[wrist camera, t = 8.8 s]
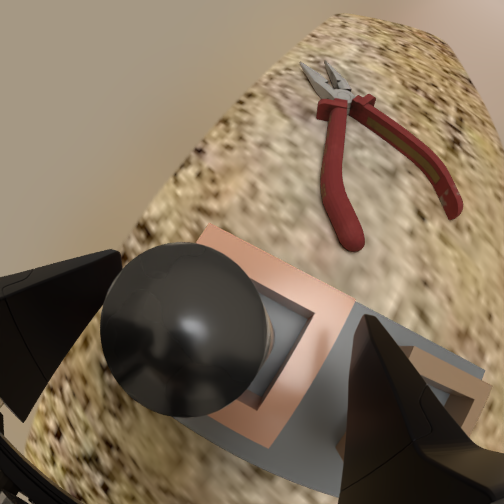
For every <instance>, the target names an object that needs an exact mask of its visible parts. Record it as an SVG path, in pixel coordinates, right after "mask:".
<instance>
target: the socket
mask: <svg viewBox="0 0 504 504" xmlns="http://www.w3.org/2000/svg"><path fill="white" fill-rule="evenodd" d="M196 244H201V245H204V246H208V247H211V248H213V249H215V250H217V251H219V252H221V253H223V254H224V255H226V256H228V257H229V258H231V259H232V260H233V261H234V262H235V263H237V264H238V265H239V266H240V267H241V268H242V269H243V271H244V272H245V273H246V274H247V275H248V277H249V278H250V279H251V281H252V282H253V284H254V286H255V288H256V290H257V291H258V292H259V293H261V294H262V295H264V296H266V297H268V298H270V299H271V300H273V301H275V302H277V303H279V304H281V305H283V306H284V307H286V308H288V309H290V310H292V311H294V312H296V313H297V314H299V315H301V316H303V317H305V318H307V321H306V323H305V325H304V327H303V328H302V330H301V332H300V334H299V336H298V337H297V339H296V341H295V343H294V344H293V346H292V348H291V350H290V351H289V353H288V355H287V357H286V358H285V360H284V362H283V363H282V365H281V367H280V368H279V370H278V372H277V373H276V375H275V377H274V378H273V380H272V382H271V383H270V385H269V386H268V388H267V390H266V391H265V393H264V394H263V396H262V397H260V396H259V395H257V394H255V393H253V392H251V391H249V390H248V389H246V390H245V391H244V393H243V394H242V395H241V396H240V397H239V398H237V399H236V400H235V401H234V402H232V403H231V404H230V405H228V406H226V407H225V408H223V409H221V410H219V411H217V412H214V413H211V414H209V415H208V416H209V417H211V418H213V419H214V420H216V421H218V422H219V423H221V424H223V425H225V426H226V427H228V428H230V429H232V430H233V431H235V432H237V433H239V434H241V435H243V436H244V437H246V438H248V439H250V440H252V441H254V442H256V443H258V444H260V445H262V446H264V447H266V448H268V449H269V447H270V446H271V445H272V443H273V442H274V440H275V439H276V438H277V436H278V435H279V433H280V432H281V430H282V429H283V427H284V426H285V425H286V423H287V422H288V420H289V419H290V417H291V416H292V414H293V412H294V411H295V409H296V408H297V406H298V405H299V403H300V402H301V400H302V398H303V397H304V395H305V393H306V392H307V390H308V389H309V387H310V385H311V384H312V382H313V380H314V379H315V377H316V375H317V373H318V372H319V370H320V368H321V366H322V365H323V363H324V361H325V359H326V358H327V356H328V354H329V352H330V350H331V348H332V347H333V345H334V343H335V341H336V339H337V337H338V335H339V333H340V331H341V329H342V327H343V325H344V323H345V321H346V319H347V317H348V315H349V313H350V311H351V309H352V307H353V305H354V303H355V301H356V299H355V298H353V297H351V296H349V295H347V294H345V293H343V292H341V291H339V290H337V289H336V288H334V287H332V286H330V285H328V284H326V283H324V282H322V281H320V280H318V279H317V278H315V277H313V276H311V275H309V274H307V273H305V272H303V271H301V270H299V269H297V268H296V267H294V266H292V265H290V264H288V263H286V262H284V261H282V260H280V259H278V258H276V257H274V256H273V255H271V254H269V253H267V252H265V251H263V250H261V249H259V248H257V247H255V246H253V245H251V244H249V243H248V242H246V241H244V240H242V239H240V238H238V237H236V236H234V235H232V234H230V233H228V232H226V231H224V230H222V229H221V228H219V227H217V226H215V225H213V224H211V223H209V224H208V225H207V227H206V228H205V230H204V231H203V233H202V234H201V236H200V237H199V239H198V241H197V242H196Z"/></svg>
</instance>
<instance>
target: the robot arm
mask: <svg viewBox="0 0 504 504" xmlns="http://www.w3.org/2000/svg"><path fill="white" fill-rule="evenodd" d="M122 269H123V268H122V260H121V254H120V252H119V251H116V250H112V249H109V250H104V251H100V252H96V253H92V254H88V255H84V256H81V257H76V258H73V259H69V260H65V261H61V262H57V263H53V264H50V265H46V266H42V267H38V268H35V269H31V270H27V271H24V272H20V273H16V274H12V275H8V276H4V277H0V408H1V407H2V405H3V404H5V405H6V407H7V408H9V409H10V411H11V412H13V414H14V415H15V416H16V417H17V418H18V419H19V420H21V422H23V423H24V421H25V420H26V419H27V417H28V415H29V413H30V412H31V409H32V408H33V407H34V405H35V403H36V402H37V400H38V398H39V397H40V395H41V393H42V392H43V390H44V388H45V387H46V385H47V384H48V382H49V380H50V379H51V377H52V376H53V374H54V373H55V371H56V370H57V368H58V366H59V365H60V364H61V362H62V361H63V359H64V358H65V356H66V355H67V353H68V352H69V350H70V349H71V347H72V346H73V345H74V343H75V342H76V340H77V339H78V338H79V336H80V335H81V333H82V332H83V331H84V329H85V328H86V326H87V325H88V324H89V322H90V321H91V320H92V318H93V317H94V316H95V314H96V313H97V312H98V310H99V309H100V308H101V306H102V305H103V304H104V301H105V298H106V295H107V293H108V291H109V289H110V287H111V285H112V283H113V281H114V280H115V278H116V277H117V275H118V274H119V273H120V272H121V270H122ZM426 384H427V383H426V382H425V380H424V379H423V378H422V376H421V375H420V373H419V372H418V371H417V369H416V368H415V367H414V365H413V364H412V363H411V361H410V360H409V359H408V357H407V356H406V355H405V353H404V352H403V351H402V349H401V348H400V347H399V345H398V344H397V343H396V342H395V340H394V339H393V338H392V336H391V335H390V334H389V333H388V331H387V330H386V329H385V327H384V326H383V325H382V324H381V322H380V321H379V320H378V319H377V317H376V316H374V315H369V314H364V315H363V316H362V318H361V320H360V322H359V324H358V326H357V329H356V331H355V333H354V337H353V346H352V354H351V362H350V370H349V380H348V409H347V427H346V441H345V452H344V462H343V471H342V480H341V487H340V494H339V500H338V504H504V453H499V452H495V451H491V450H487V449H484V448H481V447H479V446H478V445H476V444H475V443H474V442H473V441H472V440H471V439H470V438H469V437H468V435H467V434H466V433H465V432H464V431H463V429H462V428H461V427H460V426H459V424H458V423H457V422H456V421H455V420H454V418H453V417H452V416H451V415H450V414H449V412H448V411H447V410H446V409H445V407H444V406H443V405H442V404H441V402H440V401H439V400H438V398H437V397H436V395H435V394H434V393H433V391H432V390H431V389H430V387H429V386H428V385H426ZM3 425H4V424H3V415H2V414H1V412H0V504H28V503H27V502H25V501H24V500H22V499H20V498H19V497H17V496H16V495H17V493H18V492H20V493H22V494H23V495H25V496H26V497H28V498H29V499H28V500H29V501H30V502H31V503H32V504H83V503H82V502H80V501H79V500H77V499H76V498H74V497H73V496H72V495H70V494H69V493H67V492H66V491H65V490H63V489H62V488H61V487H59V486H58V485H57V484H56V483H54V482H53V481H52V480H50V479H49V478H48V477H47V476H46V475H44V474H43V473H42V472H41V471H40V470H39V469H37V468H36V467H35V466H34V465H33V464H32V463H31V462H30V461H28V460H27V459H26V458H25V457H24V456H23V455H22V454H21V453H20V452H19V451H18V450H17V449H16V448H15V447H14V446H13V445H12V444H11V443H10V442H9V441H8V440H7V439H6V438H5V437H4V426H3Z"/></svg>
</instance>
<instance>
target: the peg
mask: <svg viewBox="0 0 504 504" xmlns="http://www.w3.org/2000/svg"><path fill="white" fill-rule="evenodd" d="M100 335H101V344H102V348H103V353H104V356H105V359H106V362H107V364H108V367H109V369H110V371H111V373H112V374H113V376H114V378H115V379H116V381H117V382H118V384H119V385H120V386H121V387H122V388H123V389H124V391H125V392H126V393H127V394H128V395H130V396H131V397H132V398H133V399H134V400H135V401H137V402H138V403H140V404H141V405H142V406H144V407H146V408H148V409H150V410H152V411H154V412H157V413H160V414H163V415H167V416H171V417H179V418H192V417H200V416H205V415H209V414H211V413H214V412H217V411H219V410H221V409H223V408H225V407H226V406H228V405H230V404H231V403H232V402H234V401H235V400H236V399H237V398H239V397H240V396H241V395H242V394H243V393H244V391H245V390H246V389H247V388H248V387H249V385H250V384H251V383H252V381H253V380H254V378H255V377H256V375H257V374H258V372H259V371H260V369H261V368H262V366H263V364H264V363H265V361H266V360H267V358H268V357H269V355H270V353H271V352H272V350H273V347H274V344H275V331H274V328H273V325H272V323H271V320H270V318H269V316H268V314H267V311H266V309H265V307H264V305H263V302H262V300H261V298H260V295H259V293H258V291H257V290H256V288H255V286H254V284H253V282H252V281H251V279H250V278H249V277H248V275H247V274H246V273H245V272H244V271H243V269H242V268H241V267H240V266H239V265H238V264H237V263H235V262H234V261H233V260H232V259H231V258H229V257H228V256H226V255H224V254H223V253H221V252H219V251H217V250H215V249H213V248H211V247H208V246H204V245H201V244H196V243H190V242H176V243H168V244H164V245H160V246H157V247H154V248H151V249H149V250H147V251H145V252H143V253H142V254H140V255H138V256H137V257H136V258H134V259H133V260H132V261H130V262H129V263H128V264H127V265H126V266H125V267H124V268H123V269H122V270H121V272H120V273H119V274H118V275H117V277H116V278H115V280H114V281H113V283H112V285H111V287H110V289H109V291H108V293H107V295H106V298H105V301H104V304H103V309H102V313H101V322H100Z"/></svg>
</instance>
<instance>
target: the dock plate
mask: <svg viewBox="0 0 504 504" xmlns="http://www.w3.org/2000/svg"><path fill="white" fill-rule="evenodd" d="M258 293H259V292H258ZM259 295H260V298H261V300H262V302H263V305H264V307H265V309H266V311H267V314H268V316H269V318H270V320H271V323H272V325H273V328H274V331H275V344H274V347H273V350H272V352H271V353H270V355H269V357H268V358H267V360H266V361H265V363H264V364H263V366H262V368H261V369H260V371H259V372H258V374H257V375H256V377H255V378H254V380H253V381H252V383H251V384H250V385H249V387H248V388H247V389H248V390H249V391H251V392H253V393H255V394H257V395H259V396H260V397H262V396H263V394H264V393H265V391H266V390H267V388H268V386H269V385H270V383H271V382H272V380H273V378H274V377H275V375H276V373H277V372H278V370H279V368H280V367H281V365H282V363H283V362H284V360H285V358H286V357H287V355H288V353H289V351H290V350H291V348H292V346H293V344H294V343H295V341H296V339H297V337H298V336H299V334H300V332H301V330H302V328H303V327H304V325H305V323H306V321H307V318H305V317H303V316H301V315H299V314H297V313H296V312H294V311H292V310H290V309H288V308H286V307H284V306H283V305H281V304H279V303H277V302H275V301H273V300H271V299H270V298H268V297H266V296H264V295H262V294H261V293H259ZM364 314H369V315H374V316H376V317H377V319H378V320H379V321H380V322H381V324H382V325H383V326H384V327H385V329H386V330H387V331H388V333H389V334H390V335H391V336H392V338H393V339H394V340H395V342H396V343H397V344H398V345H399V347H400V348H401V349H402V351H403V352H404V353H405V355H406V356H407V357H408V359H409V360H410V361H411V363H412V364H413V365H414V367H415V368H416V369H417V371H418V372H419V373H420V375H421V376H422V378H423V379H424V380H425V382H426V383H427V384H426V385H428V386H429V387H430V389H431V390H432V391H433V393H434V394H435V395H436V397H437V398H438V400H439V401H440V402H441V404H442V405H443V406H444V407H445V409H446V410H447V411H448V412H449V414H450V415H451V416H452V417H453V418H454V420H455V421H456V422H457V423H458V424H459V426H460V427H461V428H462V429H463V431H464V432H465V433H466V434H467V435H468V437H469V436H470V434H471V433H472V431H473V429H474V427H475V425H476V423H477V421H478V419H479V417H480V414H481V412H482V410H483V408H484V406H485V403H486V401H487V399H488V396H489V394H490V391H491V389H492V385H490V384H488V383H486V382H484V381H482V378H483V375H484V373H485V370H484V369H482V368H480V367H478V366H476V365H475V364H473V363H471V362H469V361H467V360H465V359H463V358H461V357H460V356H458V355H456V354H454V353H452V352H450V351H448V350H447V349H445V348H443V347H441V346H439V345H437V344H435V343H433V342H432V341H430V340H428V339H426V338H424V337H422V336H420V335H418V334H417V333H415V332H413V331H411V330H409V329H407V328H405V327H403V326H401V325H400V324H398V323H396V322H394V321H392V320H390V319H388V318H386V317H385V316H383V315H381V314H379V313H377V312H375V311H373V310H371V309H369V308H368V307H366V306H364V305H362V304H360V303H358V302H356V301H355V303H354V305H353V307H352V309H351V311H350V313H349V315H348V317H347V319H346V321H345V323H344V325H343V327H342V329H341V331H340V333H339V335H338V337H337V339H336V341H335V343H334V345H333V347H332V348H331V350H330V352H329V354H328V356H327V358H326V359H325V361H324V363H323V365H322V366H321V368H320V370H319V372H318V373H317V375H316V377H315V379H314V380H313V382H312V384H311V385H310V387H309V389H308V390H307V392H306V393H305V395H304V397H303V398H302V400H301V402H300V403H299V405H298V406H297V408H296V409H295V411H294V412H293V414H292V416H291V417H290V419H289V420H288V422H287V423H286V425H285V426H284V427H283V429H282V430H281V432H280V433H279V435H278V436H277V438H276V439H275V440H274V442H273V443H272V445H271V446H270V447H269V449H268V448H266V447H264V446H262V445H260V444H258V443H256V442H254V441H252V440H250V439H248V438H246V437H244V436H243V435H241V434H239V433H237V432H235V431H233V430H232V429H230V428H228V427H226V426H225V425H223V424H221V423H219V422H218V421H216V420H214V419H213V418H211V417H209V416H208V415H205V416H200V417H192V418H179V417H173V418H174V419H176V420H177V421H179V422H180V423H182V424H183V425H185V426H186V427H188V428H189V429H191V430H192V431H194V432H196V433H197V434H199V435H200V436H202V437H204V438H205V439H207V440H209V441H210V442H212V443H214V444H216V445H217V446H219V447H221V448H223V449H224V450H226V451H228V452H230V453H232V454H234V455H236V456H237V457H239V458H241V459H243V460H245V461H247V462H249V463H251V464H253V465H255V466H257V467H260V468H262V469H264V470H266V471H268V472H271V473H273V474H275V475H277V476H280V477H282V478H284V479H287V480H289V481H292V482H294V483H297V484H300V485H302V486H305V487H308V488H310V489H313V490H316V491H319V492H322V493H325V494H328V495H331V496H335V497H338V498H339V494H340V487H341V480H342V471H343V462H344V452H345V441H346V427H347V409H348V380H349V370H350V362H351V354H352V346H353V337H354V333H355V331H356V329H357V326H358V324H359V322H360V320H361V318H362V316H363V315H364Z"/></svg>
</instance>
